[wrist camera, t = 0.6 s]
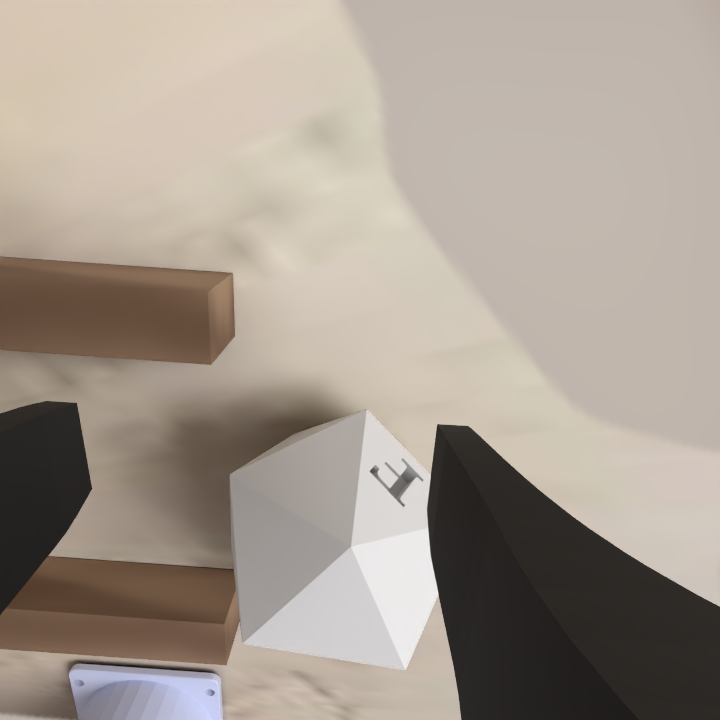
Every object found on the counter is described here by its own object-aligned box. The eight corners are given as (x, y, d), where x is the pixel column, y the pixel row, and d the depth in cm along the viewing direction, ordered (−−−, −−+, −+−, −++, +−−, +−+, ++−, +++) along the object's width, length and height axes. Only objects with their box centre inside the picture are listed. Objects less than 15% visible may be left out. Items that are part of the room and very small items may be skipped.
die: (461, 522, 23) (559, 542, 14) (328, 670, 21) (340, 808, 12) (341, 397, 24) (359, 339, 15) (203, 527, 22) (124, 551, 13)
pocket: (243, 608, 25) (226, 664, 22) (-69, 586, 25) (-126, 639, 22) (232, 273, 18) (207, 292, 16) (-185, 243, 19) (-284, 257, 16)
